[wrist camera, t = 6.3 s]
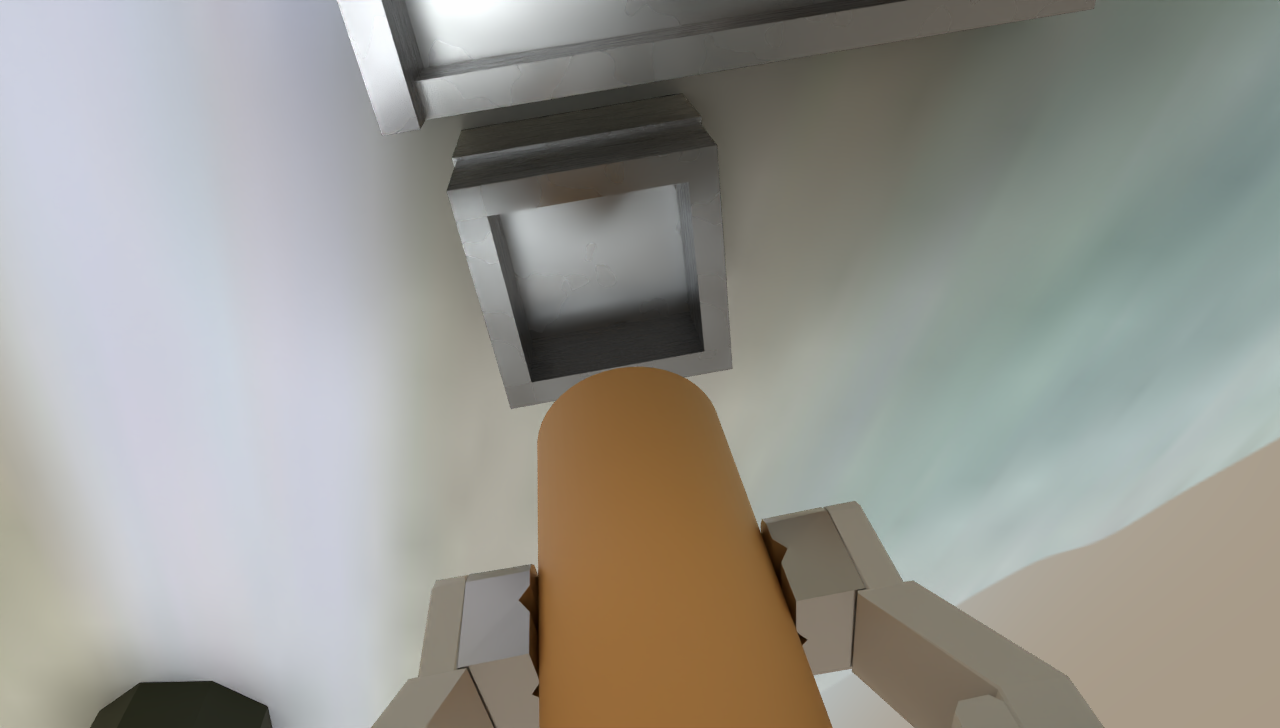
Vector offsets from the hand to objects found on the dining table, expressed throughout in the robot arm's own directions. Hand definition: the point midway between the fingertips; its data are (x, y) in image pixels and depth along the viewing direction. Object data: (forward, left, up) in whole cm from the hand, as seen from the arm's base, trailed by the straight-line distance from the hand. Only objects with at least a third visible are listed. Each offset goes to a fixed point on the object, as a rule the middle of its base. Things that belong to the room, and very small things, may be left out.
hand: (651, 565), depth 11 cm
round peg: (0, 0, -3) cm, 3 cm away
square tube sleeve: (0, 0, -15) cm, 15 cm away
